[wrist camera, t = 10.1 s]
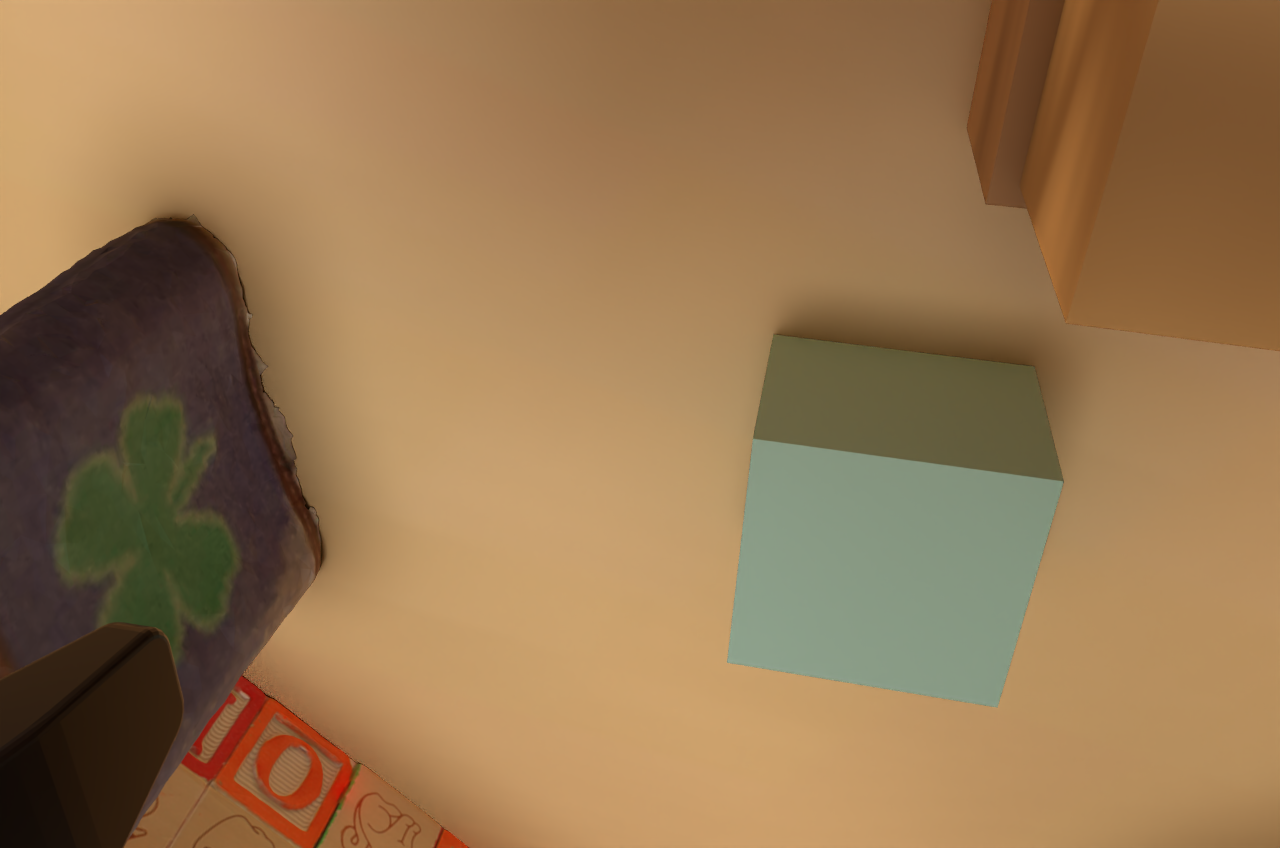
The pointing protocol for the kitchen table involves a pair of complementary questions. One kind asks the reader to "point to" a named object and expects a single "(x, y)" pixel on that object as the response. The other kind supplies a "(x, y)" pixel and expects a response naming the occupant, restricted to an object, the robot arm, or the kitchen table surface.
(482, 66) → the kitchen table surface
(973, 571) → the tower base
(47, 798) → the robot arm
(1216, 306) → the oak cube
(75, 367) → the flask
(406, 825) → the stack of blocks
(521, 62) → the kitchen table surface
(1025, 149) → the walnut block
